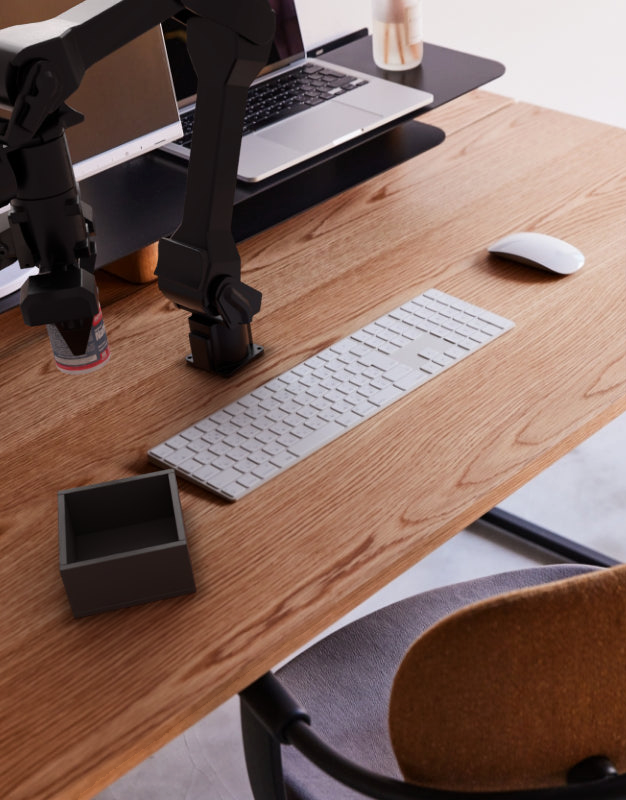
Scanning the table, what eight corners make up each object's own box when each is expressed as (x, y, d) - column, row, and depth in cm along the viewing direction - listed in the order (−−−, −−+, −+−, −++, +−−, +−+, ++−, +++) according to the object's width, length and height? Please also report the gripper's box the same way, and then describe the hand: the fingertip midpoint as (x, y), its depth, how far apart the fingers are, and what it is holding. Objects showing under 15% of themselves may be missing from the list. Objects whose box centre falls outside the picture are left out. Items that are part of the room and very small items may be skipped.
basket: (70, 538, 97) (57, 491, 93) (183, 514, 98) (173, 468, 95) (74, 619, 89) (59, 570, 85) (196, 592, 90) (186, 544, 87)
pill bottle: (113, 370, 101) (94, 289, 96) (57, 381, 100) (35, 298, 95) (109, 342, 105) (91, 262, 100) (55, 351, 104) (34, 271, 99)
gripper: (-46, 157, 98) (-3, 304, 107) (-66, 248, 83) (-15, 409, 93) (78, 141, 100) (109, 287, 109) (79, 227, 85) (115, 387, 94)
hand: (79, 338), depth 101 cm, fingers closed on pill bottle, 5 cm apart
